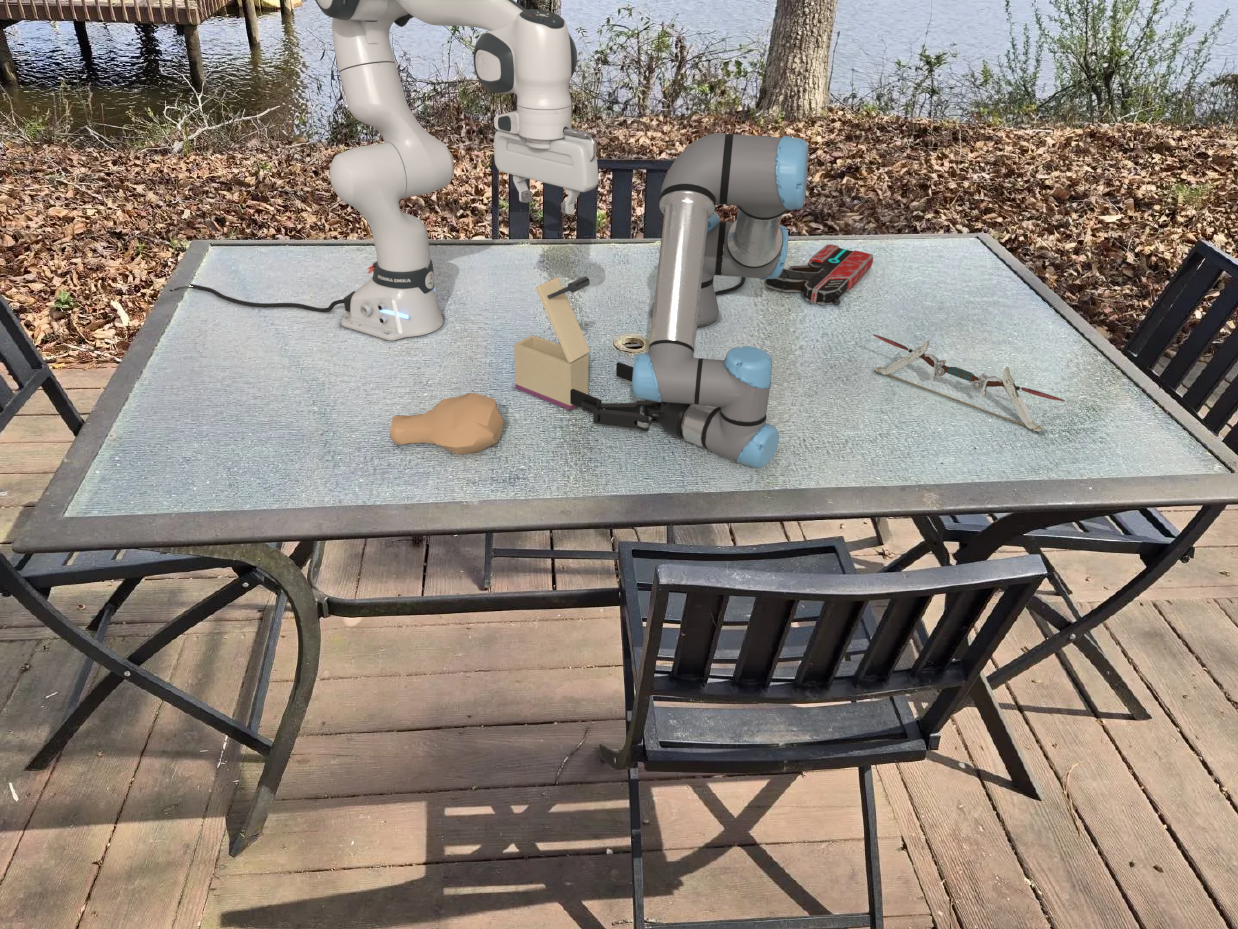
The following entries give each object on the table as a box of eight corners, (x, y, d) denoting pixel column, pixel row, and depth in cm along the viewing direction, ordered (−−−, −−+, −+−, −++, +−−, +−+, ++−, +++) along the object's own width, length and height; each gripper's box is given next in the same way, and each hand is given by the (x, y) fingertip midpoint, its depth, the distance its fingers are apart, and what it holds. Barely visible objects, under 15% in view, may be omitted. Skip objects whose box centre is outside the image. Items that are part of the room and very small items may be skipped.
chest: (515, 388, 172) (513, 344, 167) (534, 377, 176) (532, 334, 171) (570, 410, 166) (570, 365, 160) (588, 399, 169) (588, 354, 164)
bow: (1054, 434, 162) (1071, 386, 157) (1051, 438, 161) (1067, 390, 156) (868, 365, 184) (877, 321, 178) (864, 368, 183) (873, 324, 177)
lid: (535, 287, 157) (566, 274, 151) (554, 278, 161) (586, 265, 155) (568, 362, 160) (600, 352, 154) (586, 352, 164) (618, 342, 158)
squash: (504, 461, 151) (494, 421, 145) (391, 469, 152) (376, 431, 146) (510, 420, 159) (501, 381, 152) (403, 428, 160) (389, 390, 154)
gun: (761, 274, 213) (838, 293, 205) (807, 236, 235) (878, 252, 227) (759, 291, 216) (834, 311, 208) (805, 252, 238) (874, 269, 230)
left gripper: (607, 129, 140) (605, 215, 148) (511, 110, 150) (515, 191, 158) (582, 136, 136) (582, 224, 143) (486, 116, 146) (490, 199, 153)
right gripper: (648, 468, 145) (551, 426, 155) (727, 410, 162) (634, 375, 172) (650, 430, 141) (550, 389, 151) (731, 374, 157) (635, 340, 168)
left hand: (546, 207), depth 151 cm, fingers open, 8 cm apart
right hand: (595, 382), depth 161 cm, fingers open, 13 cm apart
